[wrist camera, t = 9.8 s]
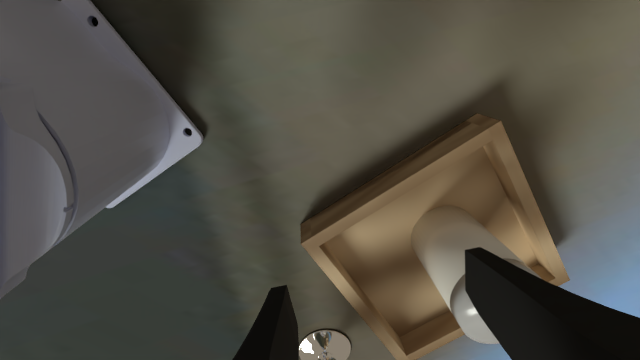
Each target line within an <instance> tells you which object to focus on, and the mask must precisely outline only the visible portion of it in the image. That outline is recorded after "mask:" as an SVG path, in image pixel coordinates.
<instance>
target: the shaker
mask: <svg viewBox="0 0 640 360" xmlns="http://www.w3.org/2000/svg"><path fill="white" fill-rule="evenodd" d="M411 245H412V248H413V250H414V252H415V253H416V255H417V257H418V258H419V260H420V261H421V263H422V265H423V266H424V268H425V270H426V271H427V273H428V275H429V276H430V278H431V279H432V281H433V283H434V284H435V286H436V288H437V289H438V291H439V293H440V294H441V296H442V298H443V299H444V301H445V302H446V304H447V306H448V307H449V309H450V311H451V312H452V314H453V316H454V317H455V319H456V320H457V322H458V324H459V325H460V327H461V329H462V330H463V332H464V333H465V334H466V335H467V336H468V337H469V338H471V339H472V340H474V341H477V342H480V343H485V344H499V342H498V340H497V339H496V338H495V336H494V335H493V333H492V332H491V331H490V329H489V328H488V327H487V325H486V324H485V322H484V321H483V320H482V318H481V317H480V315H479V314H478V312H477V311H476V309H475V307H474V305H473V304H472V302H471V300H470V298H469V296H468V294H467V293H466V291H465V250H467V249H472V248H477V247H481V248H483V249H485V250H487V251H489V252H491V253H493V254H495V255H497V256H499V257H500V258H502V259H504V260H506V261H508V262H510V263H512V264H513V265H515V266H517V267H519V268H521V269H523V270H525V271H527V272H529V273H531V274H533V275H535V276H537V277H539V278H541V277H540V276H538V275H537V274H536V273H535V272H534V271H533V270H532V269H531V268H530V267H528V266H527V265H526V264H525V263H524V262H523V261H522V260H521V259H519V258H518V257H517V256H516V255H515V254H514V253H513V252H512V251H511V250H509V249H508V248H507V247H506V246H505V245H504V244H503V243H502V242H501V241H499V240H498V239H497V238H496V237H495V236H494V235H493V234H492V233H490V232H489V231H488V230H487V229H486V228H485V227H484V226H483V225H482V224H480V223H479V222H478V221H477V220H476V219H475V218H474V217H473V216H472V215H470V214H469V213H468V212H467V211H466V210H464V209H462V208H460V207H457V206H441V207H437V208H434V209H432V210H430V211H428V212H427V213H425V214H424V215H423V216H422V217H421V218H420V219H419V220H418V221H417V223H416V224H415V226H414V228H413V230H412V234H411ZM541 279H542V278H541Z"/></svg>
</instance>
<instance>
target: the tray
mask: <svg viewBox="0 0 640 360" xmlns="http://www.w3.org/2000/svg"><path fill="white" fill-rule="evenodd" d="M441 206H457V207H460V208H462V209H464V210H466V211H467V212H468V213H469V214H470V215H472V216H473V217H474V218H475V219H476V220H477V221H478V222H479V223H480V224H482V225H483V226H484V227H485V228H486V229H487V230H488V231H489V232H490V233H492V234H493V235H494V236H495V237H496V238H497V239H498V240H499V241H501V242H502V243H503V244H504V245H505V246H506V247H507V248H508V249H509V250H511V251H512V252H513V253H514V254H515V255H516V256H517V257H518V258H519V259H521V260H522V261H523V262H524V263H525V264H526V265H527V266H528V267H530V268H531V269H532V270H533V271H534V272H535V273H536V274H537V275H538V276H540V277H541V278H542V279H543V280H545V281H547V282H549V283H551V284H553V285H556V286H559V285H561V284H563V283H565V282H567V281H569V280H570V279H569V277H568V275H567V272H566V270H565V268H564V265H563V263H562V261H561V259H560V256H559V254H558V252H557V249H556V247H555V245H554V242H553V240H552V238H551V235H550V233H549V231H548V228H547V226H546V224H545V222H544V219H543V217H542V215H541V212H540V210H539V208H538V205H537V203H536V201H535V198H534V196H533V194H532V191H531V189H530V187H529V185H528V182H527V180H526V178H525V175H524V173H523V171H522V168H521V166H520V164H519V161H518V159H517V157H516V154H515V152H514V150H513V148H512V145H511V143H510V141H509V138H508V136H507V134H506V131H505V129H504V127H503V124H502V122H501V121H500V120H497V119H493V118H490V117H487V116H484V115H480V114H475V115H474V116H472V117H471V118H469V119H467V120H466V121H464V122H463V123H461V124H459V125H458V126H456V127H455V128H453V129H451V130H450V131H448V132H447V133H445V134H443V135H442V136H440V137H439V138H437V139H436V140H434V141H432V142H431V143H429V144H428V145H426V146H424V147H423V148H421V149H420V150H418V151H416V152H415V153H413V154H412V155H410V156H408V157H407V158H405V159H404V160H402V161H400V162H399V163H397V164H396V165H394V166H393V167H391V168H389V169H388V170H386V171H385V172H383V173H381V174H380V175H378V176H377V177H375V178H373V179H372V180H370V181H369V182H367V183H365V184H364V185H362V186H361V187H359V188H357V189H356V190H354V191H353V192H351V193H350V194H348V195H346V196H345V197H343V198H342V199H340V200H338V201H337V202H335V203H334V204H332V205H330V206H329V207H327V208H326V209H324V210H322V211H321V212H319V213H318V214H316V215H314V216H313V217H311V218H310V219H308V220H306V221H305V222H303V223H302V224H301V245H302V246H303V247H304V248H305V249H306V251H307V252H308V253H309V254H310V255H311V257H312V258H313V259H314V260H315V262H316V263H317V264H318V265H319V266H320V268H321V269H322V270H323V271H324V272H325V274H326V275H327V276H328V277H329V279H330V280H331V281H332V282H333V283H334V285H335V286H336V287H337V288H338V289H339V291H340V292H341V293H342V294H343V295H344V297H345V298H346V299H347V300H348V302H349V303H350V304H351V305H352V306H353V308H354V309H355V310H356V311H357V312H358V314H359V315H360V316H361V317H362V318H363V320H364V321H365V322H366V323H367V325H368V326H369V327H370V328H371V329H372V331H373V332H374V333H375V334H376V335H377V337H378V338H379V339H380V340H381V341H382V343H383V344H384V345H385V346H386V348H387V349H388V350H389V351H390V352H391V354H392V355H393V356H394V357H395V358H396V360H416V359H418V358H420V357H422V356H424V355H426V354H428V353H429V352H431V351H433V350H435V349H437V348H439V347H441V346H443V345H445V344H447V343H449V342H451V341H453V340H455V339H457V338H459V337H460V336H462V335H464V334H465V333H464V332H463V330H462V329H461V327H460V325H459V324H458V322H457V320H456V319H455V317H454V316H453V314H452V312H451V311H450V309H449V307H448V306H447V304H446V302H445V301H444V299H443V298H442V296H441V294H440V293H439V291H438V289H437V288H436V286H435V284H434V283H433V281H432V279H431V278H430V276H429V275H428V273H427V271H426V270H425V268H424V266H423V265H422V263H421V261H420V260H419V258H418V257H417V255H416V253H415V252H414V250H413V248H412V245H411V234H412V230H413V228H414V226H415V224H416V223H417V221H418V220H419V219H420V218H421V217H422V216H423V215H424V214H425V213H427V212H428V211H430V210H432V209H434V208H437V207H441Z"/></svg>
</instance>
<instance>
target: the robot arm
mask: <svg viewBox="0 0 640 360" xmlns="http://www.w3.org/2000/svg"><path fill="white" fill-rule="evenodd" d="M93 17H96V18H97V20H98V25H97V26H96V27H95V26H94V25H93V23H92V19H93ZM186 128H189V129H191V131H192V135H188V134H186V132H185V129H186ZM202 142H203V135H202V133H201V132H200V131H199V130H198V129H197V127H196V126H195V125H194V124H193V123H192V121H191V120H190V119H189V118H188V117H187V115H186V114H185V113H184V112H183V111H182V109H181V108H180V107H179V106H178V105H177V103H176V102H175V101H174V100H173V99H172V97H171V96H170V95H169V94H168V93H167V91H166V90H165V89H164V88H163V87H162V85H161V84H160V83H159V82H158V81H157V79H156V78H155V77H154V76H153V75H152V74H151V72H150V71H149V70H148V69H147V68H146V66H145V65H144V64H143V63H142V62H141V60H140V59H139V58H138V57H137V56H136V54H135V53H134V52H133V51H132V50H131V48H130V47H129V46H128V45H127V44H126V42H125V41H124V40H123V39H122V38H121V36H120V35H119V34H118V33H117V32H116V30H115V29H114V28H113V27H112V26H111V24H110V23H109V22H108V21H107V20H106V19H105V17H104V16H103V15H102V14H101V13H100V11H99V10H98V9H97V8H96V7H95V5H94V4H93V3H92V2H91V1H90V0H61V1H58V0H0V299H1V298H2V297H3V296H4V295H6V294H7V293H8V292H9V291H11V290H12V289H13V288H14V287H16V286H17V285H18V284H19V283H21V282H22V281H23V280H24V279H25V278H26V273H27V270H28V268H29V266H30V264H32V263H33V262H34V261H36V260H37V259H38V258H40V257H41V256H42V255H44V254H45V253H46V252H47V251H49V250H50V249H51V248H52V247H54V246H55V245H57V244H58V243H59V242H60V241H62V240H63V239H64V238H66V237H67V236H68V235H70V234H71V233H72V232H73V231H75V230H76V229H77V228H79V227H80V226H81V225H83V224H84V223H85V222H86V221H88V220H89V219H90V218H92V217H93V216H94V215H96V214H97V213H98V212H99V211H101V210H102V209H103V208H105V207H106V208H112V207H114V206H116V205H117V204H118V203H120V202H121V201H123V200H124V199H125V198H127V197H128V196H130V195H131V194H132V193H134V192H135V191H137V190H138V189H139V188H141V187H142V186H144V185H145V184H146V183H148V182H149V181H151V180H152V179H153V178H155V177H156V176H158V175H159V174H160V173H162V172H163V171H165V170H166V169H167V168H169V167H170V166H172V165H173V164H174V163H176V162H177V161H179V160H180V159H181V158H183V157H184V156H186V155H187V154H188V153H190V152H191V151H193V150H194V149H195V148H197V147H198V146H200V145H201V144H202ZM465 291H466V293H467V294H468V296H469V298H470V300H471V302H472V304H473V305H474V307H475V309H476V311H477V312H478V314H479V315H480V317H481V318H482V320H483V321H484V322H485V324H486V325H487V327H488V328H489V329H490V331H491V332H492V333H493V335H494V336H495V338H496V339H497V340H498V342H499V343H500V344H501V346H502V347H503V348H504V350H505V351H506V352H507V354H508V355H509V357H510V358H511V359H512V360H640V318H638V317H635V316H632V315H629V314H626V313H623V312H620V311H617V310H615V309H612V308H609V307H606V306H603V305H601V304H598V303H596V302H593V301H591V300H588V299H586V298H583V297H581V296H578V295H576V294H573V293H571V292H569V291H567V290H564V289H562V288H560V287H558V286H556V285H553V284H551V283H549V282H547V281H545V280H543V279H541V278H539V277H537V276H535V275H533V274H531V273H529V272H527V271H525V270H523V269H521V268H519V267H517V266H515V265H513V264H512V263H510V262H508V261H506V260H504V259H502V258H500V257H499V256H497V255H495V254H493V253H491V252H489V251H487V250H485V249H483V248H481V247H477V248H472V249H467V250H465ZM298 359H299V341H298V325H297V320H296V317H295V313H294V310H293V306H292V302H291V299H290V295H289V292H288V288H287V285H284V286H279V287H274V288H271V290H270V291H269V293H268V295H267V298H266V300H265V302H264V304H263V306H262V308H261V310H260V312H259V314H258V316H257V318H256V320H255V322H254V324H253V326H252V328H251V330H250V332H249V333H248V335H247V337H246V339H245V340H244V342H243V344H242V345H241V347H240V349H239V350H238V352H237V354H236V355H235V357H234V358H233V360H298Z"/></svg>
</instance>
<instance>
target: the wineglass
mask: <svg viewBox="0 0 640 360" xmlns="http://www.w3.org/2000/svg"><path fill="white" fill-rule="evenodd" d="M350 352H351V343H350V341H349V339H348V338H347V337H346V336H345V335H344V334H342V333H340V332H338V331H334V330H319V331H315V332H313V333H311V334H309V335H307V336H306V337H305V338H304V339H303V340H302V341H301V343H300V345H299V357H300V359H301V360H347V358H348V357H349V355H350Z"/></svg>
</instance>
